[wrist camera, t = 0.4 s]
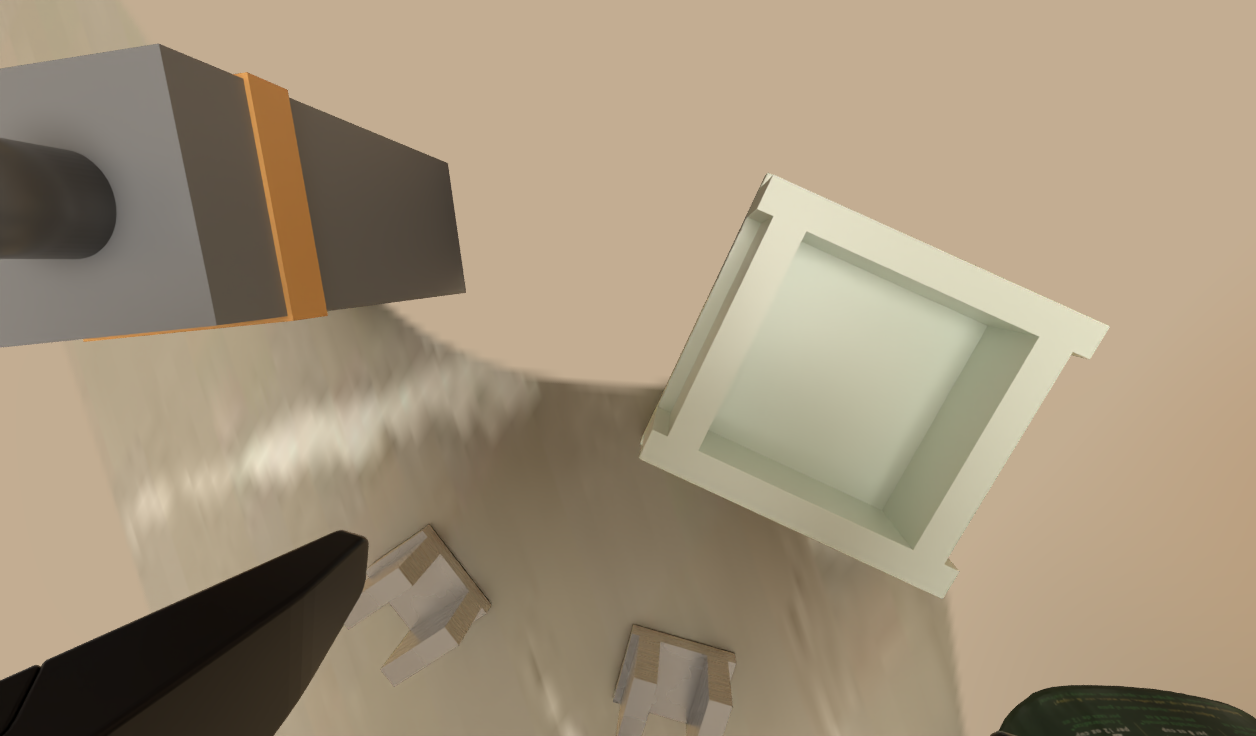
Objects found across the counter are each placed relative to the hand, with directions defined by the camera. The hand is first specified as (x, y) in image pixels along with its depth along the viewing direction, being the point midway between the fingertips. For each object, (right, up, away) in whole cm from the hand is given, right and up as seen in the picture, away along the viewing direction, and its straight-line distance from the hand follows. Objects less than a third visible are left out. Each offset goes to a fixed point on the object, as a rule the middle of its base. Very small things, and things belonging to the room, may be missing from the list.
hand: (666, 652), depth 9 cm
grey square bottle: (-9, +9, +14) cm, 18 cm away
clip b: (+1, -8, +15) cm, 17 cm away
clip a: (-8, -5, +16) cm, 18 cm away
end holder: (+7, +4, +13) cm, 15 cm away
